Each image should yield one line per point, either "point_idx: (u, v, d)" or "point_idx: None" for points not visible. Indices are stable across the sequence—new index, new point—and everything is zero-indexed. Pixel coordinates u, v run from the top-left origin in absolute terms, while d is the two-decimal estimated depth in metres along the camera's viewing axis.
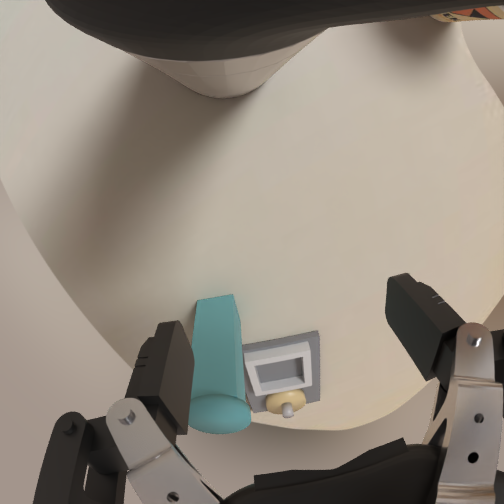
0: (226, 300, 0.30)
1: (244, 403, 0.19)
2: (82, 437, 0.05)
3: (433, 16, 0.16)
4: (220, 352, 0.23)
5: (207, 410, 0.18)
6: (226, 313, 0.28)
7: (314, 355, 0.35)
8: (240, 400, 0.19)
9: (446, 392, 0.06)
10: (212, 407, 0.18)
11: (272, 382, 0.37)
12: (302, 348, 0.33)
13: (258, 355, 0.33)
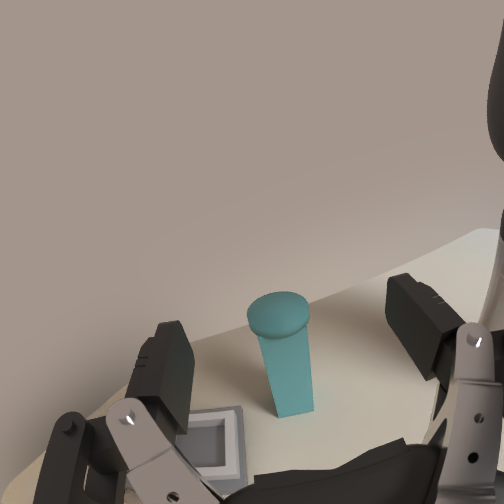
0: None
1: (295, 331, 0.22)
2: (82, 437, 0.05)
3: None
4: None
5: (297, 302, 0.24)
6: None
7: None
8: (300, 329, 0.22)
9: (446, 392, 0.06)
10: (303, 305, 0.23)
11: None
12: (237, 467, 0.21)
13: (235, 425, 0.26)
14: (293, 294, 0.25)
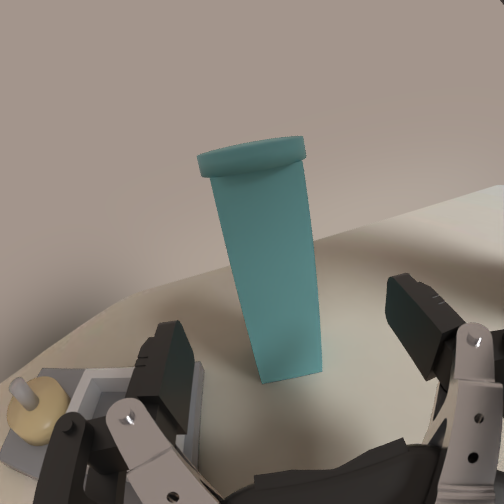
0: None
1: (281, 160, 0.11)
2: (82, 437, 0.05)
3: None
4: None
5: (285, 138, 0.13)
6: None
7: None
8: (290, 159, 0.11)
9: (446, 392, 0.06)
10: (294, 137, 0.13)
11: (93, 406, 0.15)
12: None
13: None
14: (278, 138, 0.15)
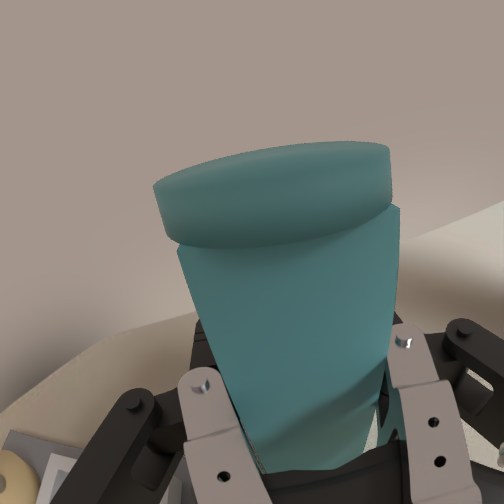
0: None
1: (361, 209, 0.04)
2: (151, 413, 0.06)
3: None
4: None
5: (341, 145, 0.06)
6: None
7: None
8: (378, 205, 0.04)
9: (386, 396, 0.07)
10: (362, 146, 0.06)
11: None
12: None
13: None
14: (320, 142, 0.07)
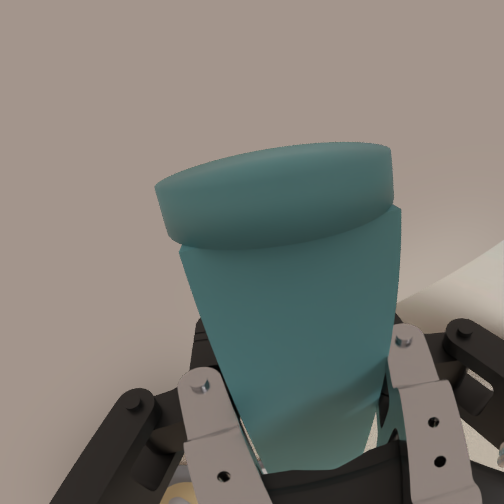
0: None
1: (363, 210, 0.04)
2: (151, 413, 0.06)
3: None
4: None
5: (342, 146, 0.06)
6: None
7: None
8: (380, 207, 0.04)
9: (386, 396, 0.07)
10: (364, 146, 0.06)
11: None
12: None
13: None
14: (321, 143, 0.08)
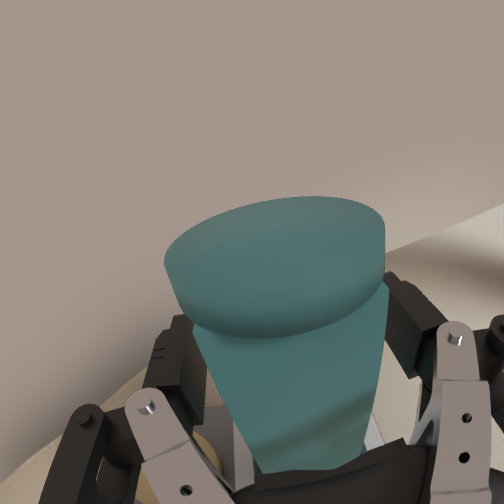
0: None
1: (353, 301, 0.05)
2: (100, 429, 0.05)
3: None
4: None
5: (340, 211, 0.07)
6: None
7: None
8: (369, 292, 0.05)
9: (430, 392, 0.06)
10: (360, 214, 0.06)
11: None
12: None
13: None
14: (320, 199, 0.08)
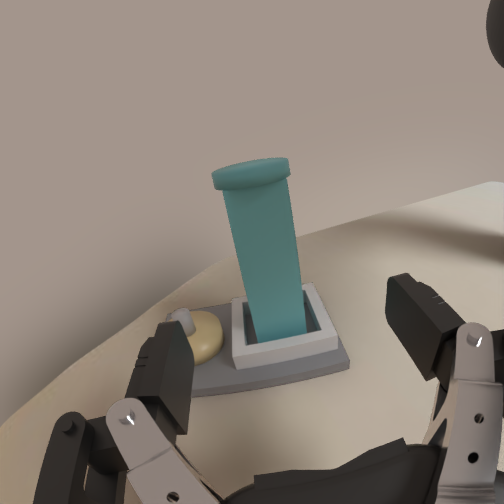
0: None
1: (271, 179, 0.17)
2: (82, 437, 0.05)
3: None
4: None
5: (275, 160, 0.19)
6: None
7: (299, 365, 0.20)
8: (278, 178, 0.17)
9: (446, 392, 0.06)
10: (281, 160, 0.18)
11: (246, 323, 0.25)
12: None
13: None
14: (271, 158, 0.20)
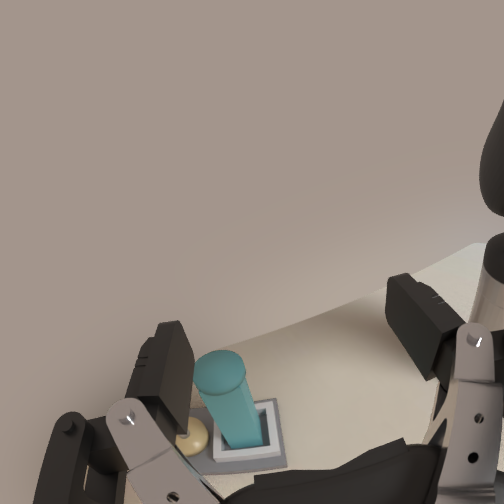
0: (261, 437, 0.29)
1: (229, 390, 0.23)
2: (82, 437, 0.05)
3: None
4: (249, 404, 0.27)
5: (235, 363, 0.26)
6: (258, 430, 0.29)
7: (255, 464, 0.27)
8: (234, 388, 0.24)
9: (446, 392, 0.06)
10: (239, 367, 0.25)
11: None
12: (279, 446, 0.28)
13: (274, 413, 0.33)
14: (233, 354, 0.27)
